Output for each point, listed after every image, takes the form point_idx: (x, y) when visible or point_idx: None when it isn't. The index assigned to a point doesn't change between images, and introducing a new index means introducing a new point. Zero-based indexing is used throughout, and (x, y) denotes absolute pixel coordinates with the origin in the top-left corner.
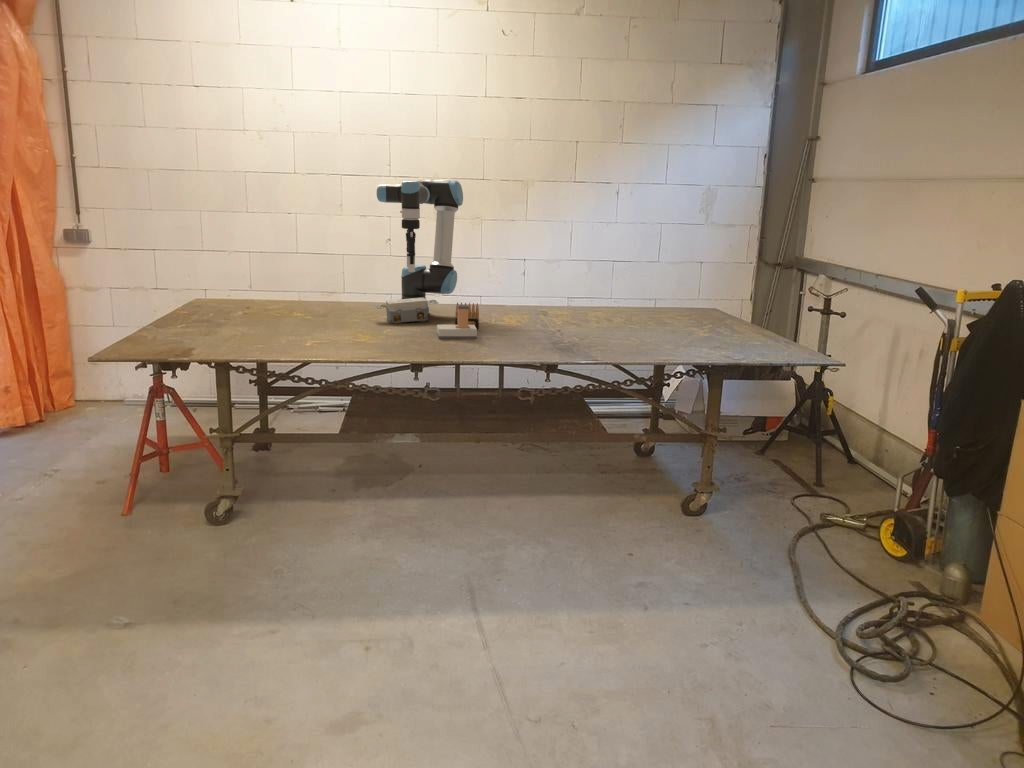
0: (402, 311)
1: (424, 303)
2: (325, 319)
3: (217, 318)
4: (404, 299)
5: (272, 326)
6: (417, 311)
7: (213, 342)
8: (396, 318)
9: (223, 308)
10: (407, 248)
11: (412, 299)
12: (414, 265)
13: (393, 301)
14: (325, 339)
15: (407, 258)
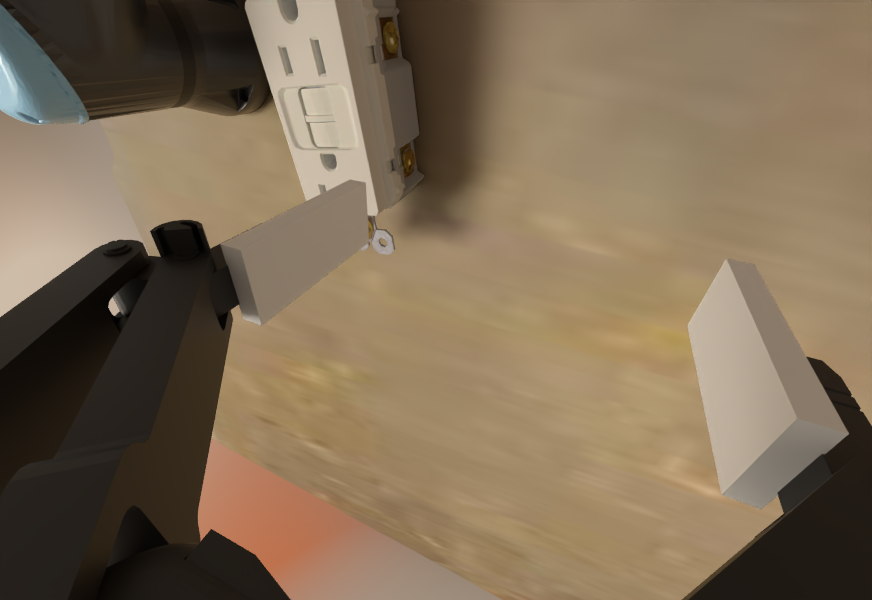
0: (397, 145)
1: (347, 10)
2: (363, 346)
3: (366, 487)
4: (289, 124)
5: (446, 457)
6: (383, 60)
7: (594, 577)
8: (412, 166)
9: (281, 449)
10: (221, 361)
11: (296, 82)
12: (778, 319)
13: (333, 186)
14: (652, 437)
15: (310, 280)
